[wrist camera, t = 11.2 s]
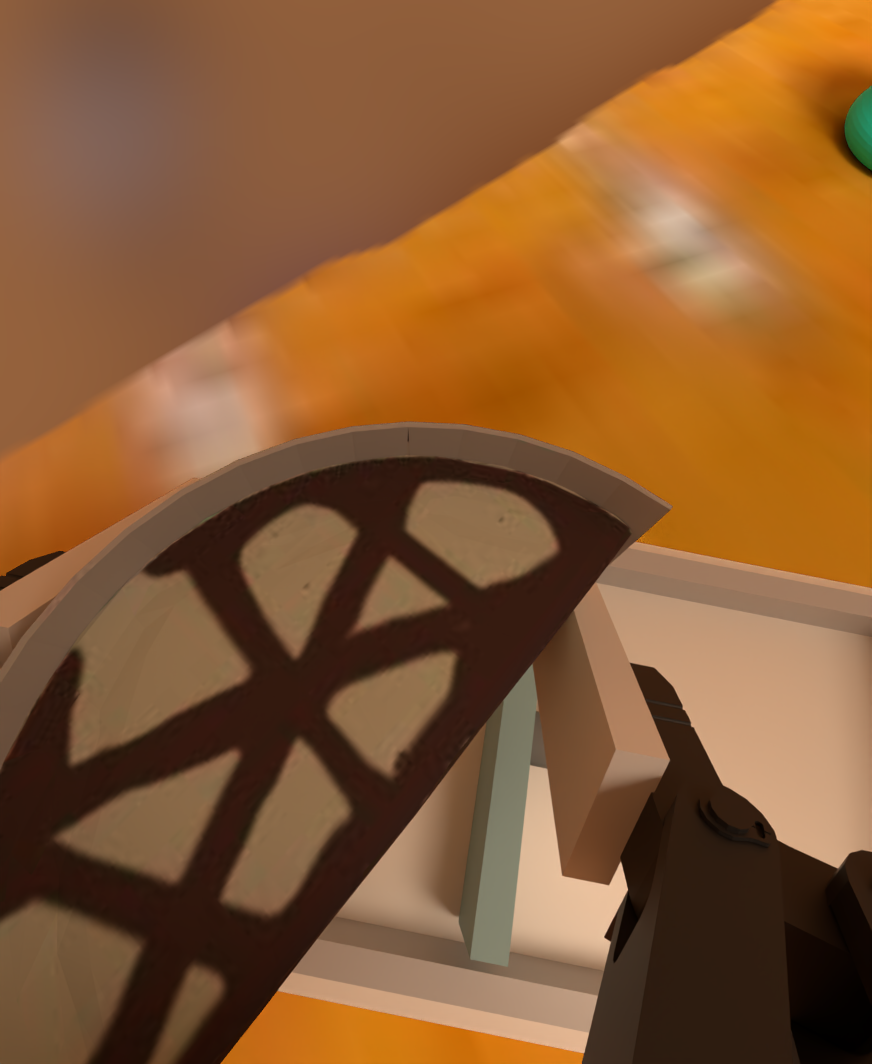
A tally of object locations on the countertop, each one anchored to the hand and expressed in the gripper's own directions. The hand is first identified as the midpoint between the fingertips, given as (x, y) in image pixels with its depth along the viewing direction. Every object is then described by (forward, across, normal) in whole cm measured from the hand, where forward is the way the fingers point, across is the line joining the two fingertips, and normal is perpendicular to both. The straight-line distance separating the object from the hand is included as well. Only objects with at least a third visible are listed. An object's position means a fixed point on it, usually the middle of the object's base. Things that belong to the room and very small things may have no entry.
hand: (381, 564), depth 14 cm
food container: (0, -1, -5) cm, 5 cm away
